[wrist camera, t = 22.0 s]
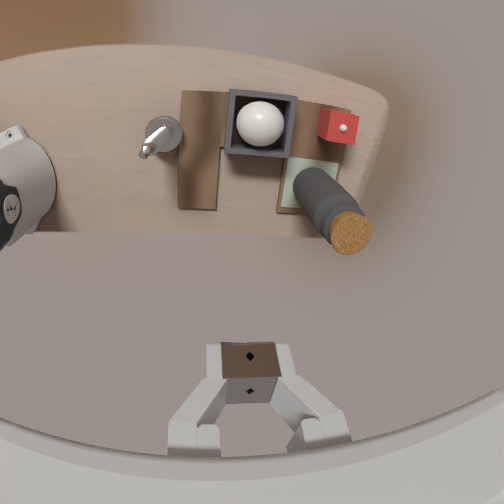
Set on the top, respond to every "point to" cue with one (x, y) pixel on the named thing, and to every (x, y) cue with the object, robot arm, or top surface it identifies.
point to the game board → (212, 138)
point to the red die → (337, 126)
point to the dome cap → (259, 123)
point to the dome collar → (268, 150)
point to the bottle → (332, 210)
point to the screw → (161, 136)
